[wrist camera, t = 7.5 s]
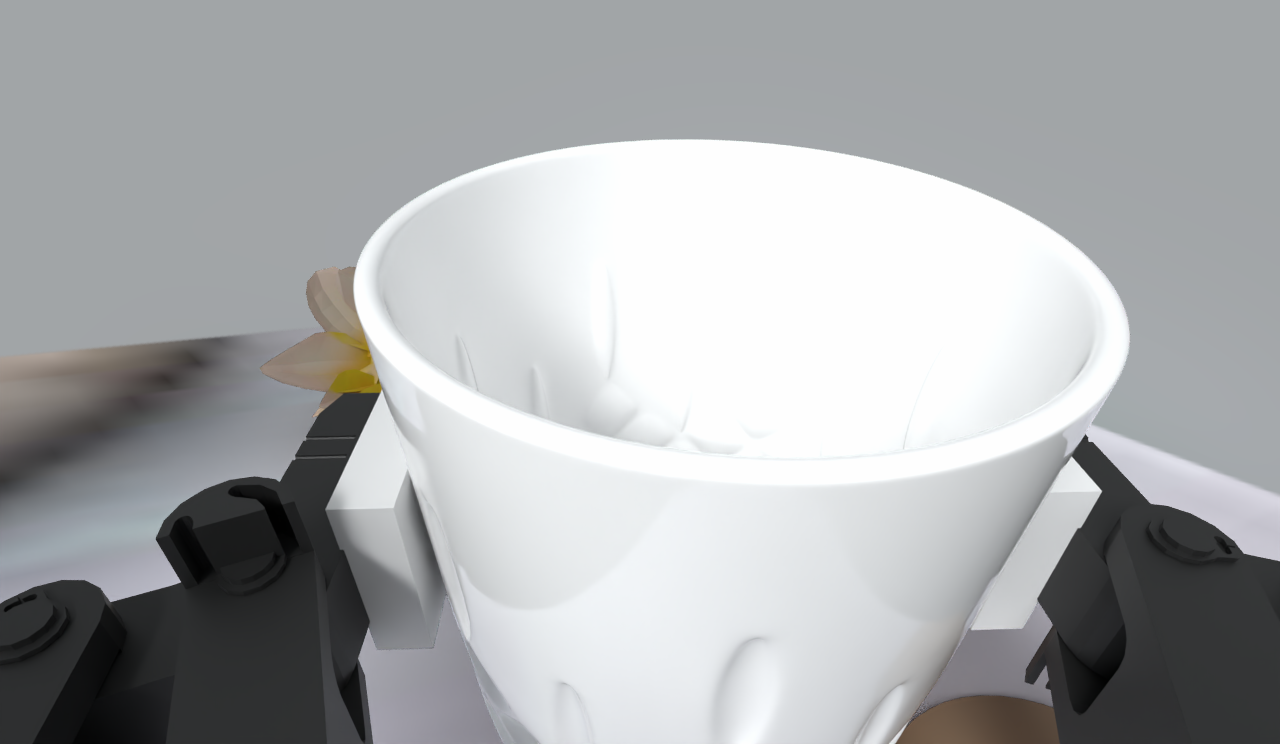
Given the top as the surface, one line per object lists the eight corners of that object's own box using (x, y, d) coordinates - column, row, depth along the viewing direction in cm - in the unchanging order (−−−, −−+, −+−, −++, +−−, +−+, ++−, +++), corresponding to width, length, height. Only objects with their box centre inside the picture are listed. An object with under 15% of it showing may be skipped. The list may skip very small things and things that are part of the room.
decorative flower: (332, 521, 29) (265, 305, 26) (274, 445, 37) (218, 274, 34) (599, 409, 38) (577, 236, 34) (504, 367, 46) (478, 225, 43)
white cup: (909, 624, 15) (1091, 184, 9) (840, 1093, 9) (1245, 674, 3) (598, 509, 17) (587, 116, 12) (386, 809, 11) (153, 306, 6)
